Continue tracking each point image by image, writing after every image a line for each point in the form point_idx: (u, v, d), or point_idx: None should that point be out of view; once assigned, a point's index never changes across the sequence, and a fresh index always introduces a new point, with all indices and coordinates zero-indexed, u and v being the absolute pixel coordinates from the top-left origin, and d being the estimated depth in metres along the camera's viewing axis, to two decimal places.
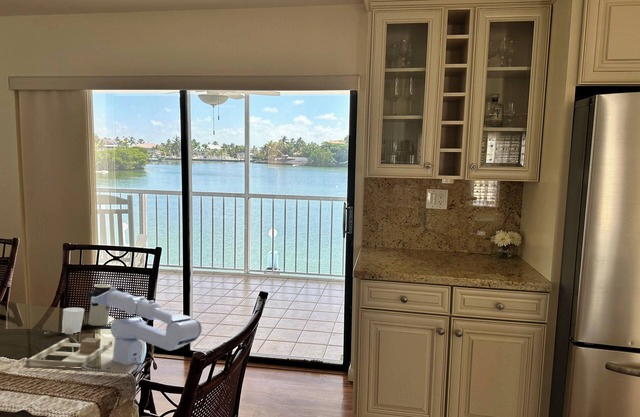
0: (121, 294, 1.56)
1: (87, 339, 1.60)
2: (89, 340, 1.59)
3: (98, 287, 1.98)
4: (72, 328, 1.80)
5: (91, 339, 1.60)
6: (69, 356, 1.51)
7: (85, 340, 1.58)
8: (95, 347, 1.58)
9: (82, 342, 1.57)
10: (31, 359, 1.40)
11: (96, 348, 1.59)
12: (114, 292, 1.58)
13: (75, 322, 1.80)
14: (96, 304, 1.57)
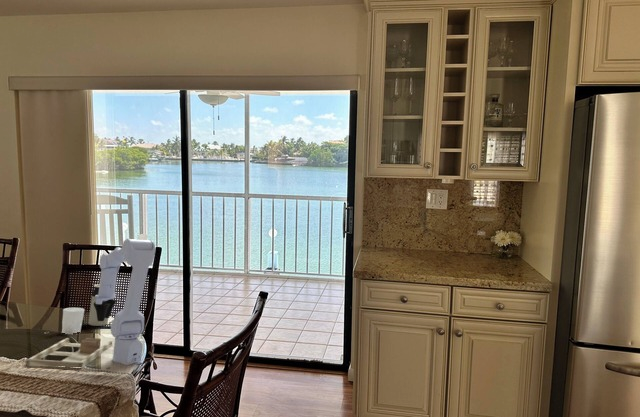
0: None
1: (87, 339, 1.60)
2: (89, 340, 1.59)
3: (98, 287, 1.98)
4: (72, 328, 1.80)
5: (91, 339, 1.60)
6: (69, 356, 1.51)
7: (85, 340, 1.58)
8: (95, 347, 1.58)
9: (82, 342, 1.57)
10: (31, 359, 1.40)
11: (96, 348, 1.59)
12: None
13: (75, 322, 1.80)
14: (108, 303, 1.67)
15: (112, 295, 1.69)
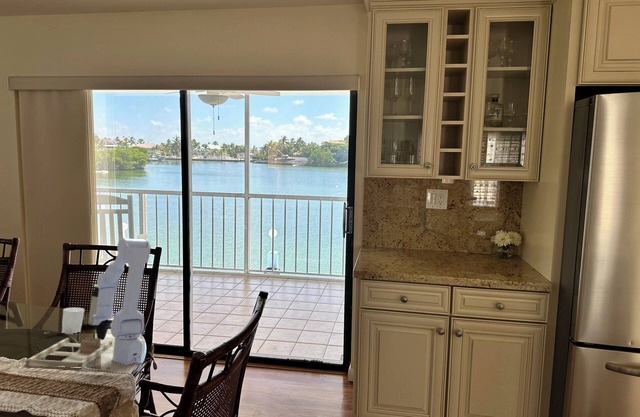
0: None
1: (87, 339, 1.60)
2: (89, 340, 1.59)
3: None
4: (72, 328, 1.80)
5: (91, 339, 1.60)
6: (69, 356, 1.51)
7: (85, 340, 1.58)
8: (95, 347, 1.58)
9: (82, 342, 1.57)
10: (31, 359, 1.40)
11: (96, 348, 1.59)
12: (96, 310, 1.68)
13: (75, 322, 1.80)
14: (107, 322, 1.69)
15: (110, 315, 1.69)
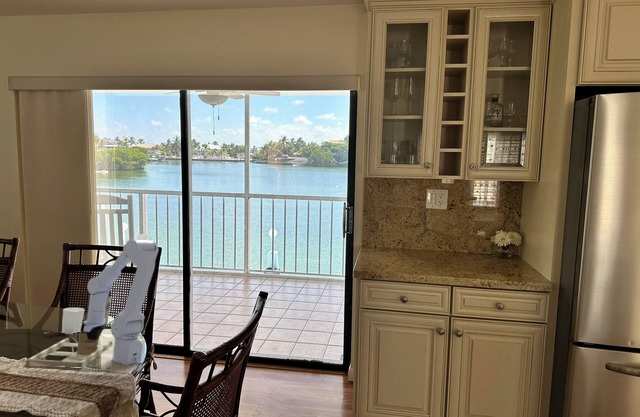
0: None
1: (84, 340, 1.58)
2: (86, 341, 1.57)
3: None
4: (71, 328, 1.80)
5: (88, 340, 1.58)
6: (69, 356, 1.51)
7: (82, 341, 1.56)
8: (93, 349, 1.56)
9: (79, 343, 1.55)
10: (31, 359, 1.40)
11: (94, 349, 1.57)
12: None
13: (75, 322, 1.80)
14: (99, 329, 1.61)
15: (101, 321, 1.61)
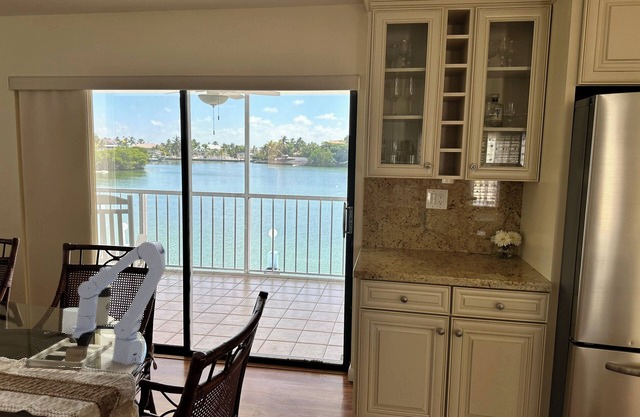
0: (78, 309, 1.52)
1: (73, 347, 1.49)
2: (75, 348, 1.48)
3: None
4: (72, 328, 1.80)
5: (77, 347, 1.50)
6: None
7: (71, 348, 1.48)
8: (82, 356, 1.48)
9: (67, 350, 1.46)
10: (31, 359, 1.40)
11: (83, 356, 1.49)
12: (77, 321, 1.52)
13: (75, 322, 1.80)
14: (89, 335, 1.52)
15: (92, 326, 1.53)
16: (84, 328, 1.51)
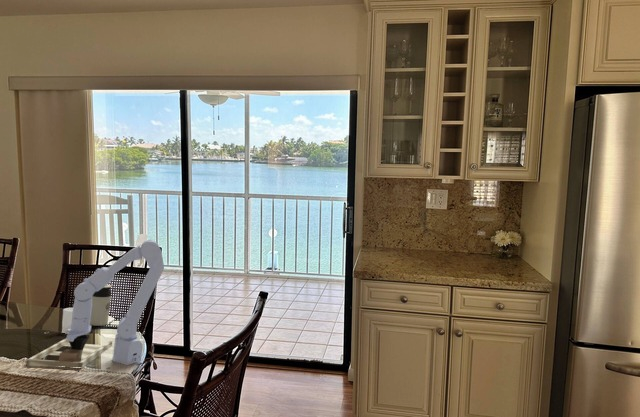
0: (73, 312, 1.47)
1: (67, 351, 1.45)
2: (69, 352, 1.44)
3: None
4: None
5: (71, 351, 1.45)
6: None
7: (64, 352, 1.43)
8: (76, 360, 1.43)
9: (61, 354, 1.42)
10: (31, 359, 1.40)
11: (77, 360, 1.44)
12: (71, 323, 1.48)
13: None
14: (84, 338, 1.48)
15: (86, 329, 1.48)
16: (78, 331, 1.46)
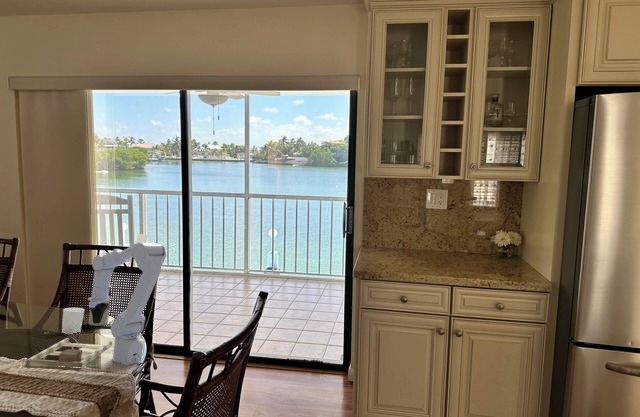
0: None
1: (67, 351, 1.45)
2: (69, 352, 1.44)
3: None
4: (72, 328, 1.80)
5: (71, 351, 1.45)
6: None
7: (64, 352, 1.43)
8: (76, 360, 1.43)
9: (61, 354, 1.42)
10: (31, 359, 1.40)
11: (77, 360, 1.44)
12: (92, 292, 1.62)
13: (75, 322, 1.80)
14: (104, 305, 1.62)
15: (106, 298, 1.63)
16: (99, 299, 1.61)
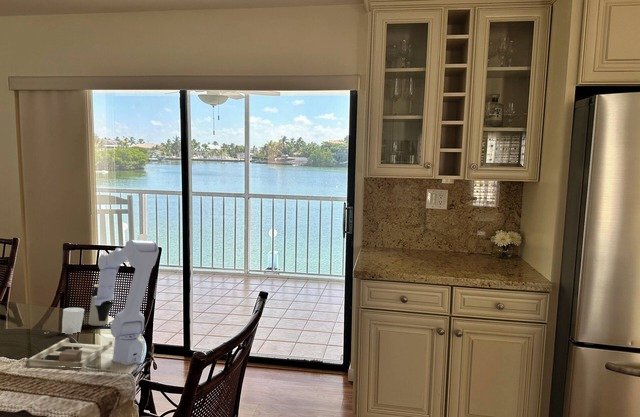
0: None
1: (67, 351, 1.45)
2: (69, 352, 1.44)
3: None
4: (72, 328, 1.80)
5: (71, 351, 1.45)
6: None
7: (64, 352, 1.43)
8: (76, 360, 1.43)
9: (61, 354, 1.42)
10: (31, 359, 1.40)
11: (77, 360, 1.44)
12: None
13: (75, 322, 1.80)
14: (109, 304, 1.67)
15: (111, 296, 1.67)
16: (104, 297, 1.65)
